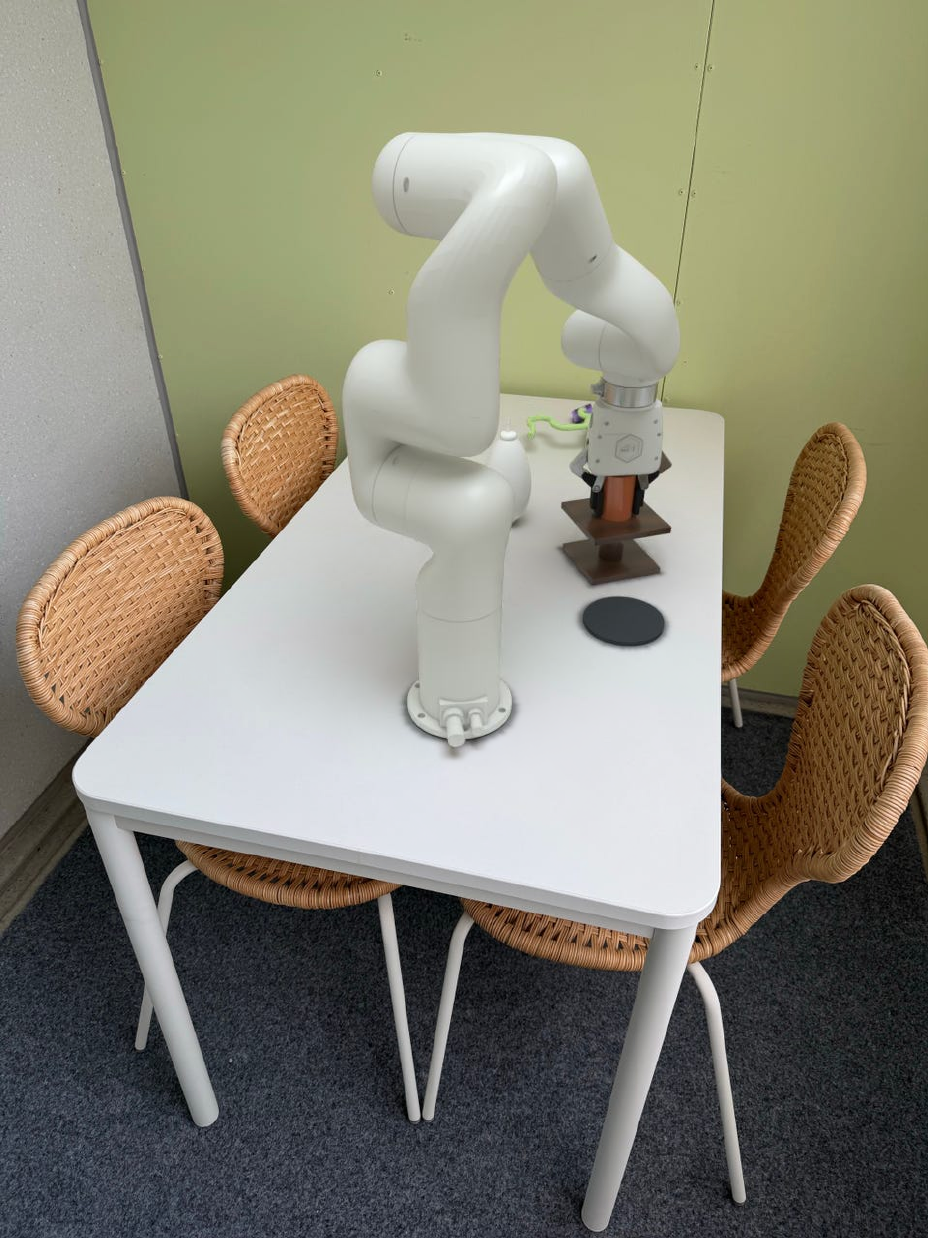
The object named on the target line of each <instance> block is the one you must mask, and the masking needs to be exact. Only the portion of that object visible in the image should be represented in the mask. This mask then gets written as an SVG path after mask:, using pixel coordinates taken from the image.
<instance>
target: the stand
mask: <svg viewBox="0 0 928 1238" xmlns="http://www.w3.org/2000/svg"><path fill="white" fill-rule="evenodd" d="M560 508H561V510H562V511H563V512H564V513H565V514H566V515H567V516H568V518H569V519H571V521H572V522H573V523H574V524H575V525H576V526H577V528H578V529H579V530H580V531H581V532H582V534H584V536H585V537H586V538H587V539H581V540H575V541H570V542H563V543H562V550H563V551H564V553H565V554H566V555H567V557H568V558H569V559H570V561H572V562H573V564H574V565H575V566H576V568H577V569H578V570H579V571H580V573H581V574H582V575H583V576H584V578H585V579H586V580H587V582H589V584H590V585H591V586H596V585H601V584H606V583H607V584H608V583H612V582H619V581H624V580H629V579H635V578H641V577H645V576H646V577H647V576H651V575H656V574H660V572H661V567H660V566H659V565H658V563H657V562H656V561H655V560H654V559H653V558H652V557H651V556H650V555H649V554H648V553H647V552H646V551H645V549H643V548H642V547H641V546H640V545H639V543H637V542H636V541H635V540H637V539H643V538H649V537H654V536H660V535H661V536H662V535H666V534H671V532H672V526H671V525H669V523H667V521H666V520H665V519H663V517H661V516H660V515H659V514H658V513H657V512H656V511H655V510H654V509H653V508H652V507H651V506H650V505H649V504H647V502H645V501H644V502H643V506H642V507H640V510H639V515H634V514H633V512H632V516H631V518H630V519H628V520H626V521H622V522H613V521H608V520H605V519H603V518H602V517H596V514H595V512H594V510H593V509H591V508H590V497H585V498H579V499H572V500H565V501H561V503H560Z"/></svg>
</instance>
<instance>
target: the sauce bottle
mask: <svg viewBox="0 0 928 1238" xmlns="http://www.w3.org/2000/svg"><path fill="white" fill-rule="evenodd" d="M506 423H507V424H506V426H507V427H506V430H502V431H501V432H500V433H499V438H498V439H497V440H496V441H495V443H494V444H493V446H492V448H491V449H490V451H489V454H488V456H487V459H486V462H485V465H486V466H488V467H490V468H492V469H494V470H496V471H497V472H499V473H500V474H501V475H503V476H504V477H505V478H506V479H507V481H508V482H509V483H510V485H511V487H512V489H513V491H514V495H515V512H514V518H513V522H512V523H514V522H516V521H517V520H519V519H520V518H521V517H522V516H523V514H524V513H525V511H526V510H527V507H528V505H529V502H530V500H531V495H532V472H531V466H530V463H529V459H528V456H527V454H526V451H525V448H524V446H523V445H522V443H521V442H520V440H519V439H518V438H517V437H518V433H517V432H516V431H514V430H511V418H510V416H508V417H507V422H506Z"/></svg>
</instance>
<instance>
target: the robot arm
mask: <svg viewBox="0 0 928 1238" xmlns="http://www.w3.org/2000/svg"><path fill="white" fill-rule="evenodd" d="M371 193H372V198H373V202H374V205H375V208H376V210H377V213H378V214H379V216H380V217H381V219H382V220H383V221H384V223H385V224H386V225H387V226H388V227H389V228H391V229H392V230H394V231H395V232H397V233H399V234H403V235H404V236H408V237H414V238H422V239H429V240H436V241H441V242H440V243H438V245H437V247H435V249H434V250H433V252H432V253H431V255H429V257H428V258H427V260H426V261H425V262H424V264H423V265H422V266H421V268H420V269H419V271H418V272H417V274H416V276H415V278H414V279H413V282H412V284H411V286H410V289H409V291H408V295H407V298H406V307H405V309H406V310H405V313H406V317H405V318H406V319H405V320H406V341H403V340H398V339H388V338H387V339H386V338H385V339H384V338H383V339H377V340H373V341H372V342H368V343H366V345H364V346H363V347H361V348H360V349H359V350H358V352H356V354H355V355H354V357H353V358H352V360H351V362H350V363H349V366H348V368H347V371H346V374H345V377H344V382H343V387H342V395H341V403H342V404H341V405H342V406H341V407H342V408H341V409H342V419H343V429H344V438H345V445H346V453H347V462H348V470H349V479H350V485H351V486H350V487H351V492H352V495H353V500H354V504H355V506H356V508H357V510H358V512H359V514H360V515H361V516H362V518H364V519H365V520H366V521H367V522H368V523H370V524H372V525H374V526H376V527H378V528H381V529H384V530H386V531H388V532H392V533H394V534H397V535H400V536H403V537H406V538H409V539H411V540H414V541H415V542H418V543H421V544H423V545H425V546H427V547H428V548H430V549H431V551H432V556H431V557H430V558H429V559H428V560H426V562H425V563H424V564H423V565H422V567H421V568H420V570H419V571H418V573H417V576H416V581H415V604H416V605H415V607H416V631H417V656H418V657H417V659H418V677H419V678H418V679H416V680H415V681H414V683H413V684H412V685H411V686H410V688H409V690H408V693H407V697H406V705H407V707H406V708H407V711H408V715H409V716H410V719H411V721H412V722H413V723H414V724H415V725H416V726H417V727H419V728H420V729H422V730H423V731H424V732H426V733H428V734H429V735H431V736H432V735H433V736H436V737H439V738H443V739H447V743H448V745H449V746H450V747H453V748H459V747H462V746H463V745H464V744H465V743H466V740H471V739H475V738H480V737H483V736H485V735H488V734H491V733H493V732H494V731H496V730H498V729H499V728H501V727H502V725H504V724H505V723H506V722H507V720H508V719H509V717H510V716H511V712H512V709H513V708H512V707H513V695H512V692H511V689H510V687H509V686H508V685H507V683H506V681H504V680H503V679H502V678H501V656H502V655H501V653H502V652H501V651H502V648H501V647H502V623H503V622H502V621H503V619H502V618H503V617H502V616H503V615H502V614H503V585H504V571H505V570H504V568H505V560H506V554H507V547H508V543H509V538H510V535H511V530H512V525H513V523H514V522H513V518H514V512H515V495H514V491H513V489H512V487H511V485H510V483H509V482H508V481H507V479H506V478H505V477H504V476H503V475H501V474H500V473H499V472H497V471H496V470H494V469H492V468H490V467H488V466H486V464H483V463H480V462H478V461H474V460H472V459H468V458H472V457H476V456H479V455H481V454H483V453H484V452H486V451H487V450H488V449H489V448H490V447H492V444H493V443H494V441H495V438H496V436H497V433H498V429H499V423H500V413H501V412H500V411H501V323H502V311H503V306H504V303H505V298H506V296H507V293H508V290H509V289H510V285H511V283H512V281H513V279H514V278H515V276H516V274H517V272H518V270H519V268H520V266H521V265H522V264H523V262H524V261H525V259H526V257H527V256H528V254H529V255H530V258H531V260H532V262H533V263H534V266H535V268H536V270H537V272H538V274H539V276H540V279H541V281H542V283H543V285H544V286H545V288H546V289H547V290H548V291H549V293H550V294H551V295H553V296H554V297H555V298H557V299H559V300H560V301H563V302H564V303H565V304H567V305H569V306H571V307H573V308H575V309H576V310H575V311H574V312H572V314H570V315H569V317H568V318H567V320H566V321H565V323H564V325H563V327H562V330H561V334H560V347H561V351H562V353H563V355H564V357H565V359H567V360H568V361H569V362H570V363H572V364H573V365H576V366H578V367H581V368H584V369H589V370H593V371H598V372H602V375H601V376H600V380H599V382H596V383H591V384H590V395H596V396H597V397H596V398H595V400H594V403H593V405H592V408H593V409H592V413H591V417H590V421H589V426H588V429H587V431H586V437H585V443H584V444H585V445H584V447H583V448H582V449H581V450H580V452H579V453H578V454H577V455H576V456H575V458H574V459H573V460H572V461H571V462H570V463H569V466H568V467H569V470H570V472H571V473H573V474H574V475H575V476H577V477H578V478H580V479H581V480H582V481H583V482H584V483H586V485H587V486H588V487H590V494H589V498H590V508H591V509H593V510H594V512H595V514H596V517H601V516H602V510H603V501H604V492H603V490H602V485H603V483H604V480H605V478H606V476H623V475H637V476H636V484H635V492H634V500H633V508H632V512H633V514H634V515H639V510H640V507H642V506H643V502H645V501H644V500H645V493H646V490H648V489H649V487H650V485H651V484H652V483H653V482H654V481H655V480H656V479H658V478H659V476H660V475H661V474H664V473H665V472H666V471H667V470H669V469H671V467H672V466H673V463H672V462H671V460H670V459H669V458H668V456H667V454H666V453H665V452H664V450H663V441H664V410H663V403H662V401H661V400H660V399H659V398H658V390H659V383H660V380H661V379H663V378H665V377H666V376H667V375H668V374H670V373H671V371H672V370H673V369H674V367H675V366H676V364H677V361H678V357H679V354H680V349H681V329H680V323H679V318H678V314H677V311H676V307H675V304H674V301H673V297H672V295H671V293H670V292H669V290H668V289H667V287H666V286H665V285H664V284H663V282H662V281H661V280H660V279H658V277H656V276H655V274H653V273H652V272H651V271H650V270H648V269H647V268H646V267H645V266H644V265H643V264H642V263H641V262H639V261H638V260H637V259H636V258H635V257H633V255H631V254H630V253H629V252H628V251H626V250H625V249H624V248H622V247H621V246H619V245H618V244H617V243H616V242H615V239H614V235H613V231H612V229H611V226H610V223H609V221H608V217H607V215H606V212H605V208H604V206H603V205H604V204H603V203H602V199H601V196H600V192H599V190H598V186H597V184H596V182H595V178H594V176H593V173H592V169H591V166H590V164H589V161H588V160H587V157H586V156H585V154H584V153H583V152H582V151H581V150H580V149H579V147H577V145H575V144H574V143H572V142H571V141H568V140H565V139H562V138H557V137H552V136H545V135H529V134H516V133H506V132H505V133H504V132H490V131H489V132H488V131H484V132H483V131H482V132H481V131H480V132H420V131H419V132H418V131H406V132H403V133H400V134H398V135H396V136H394V137H393V138H392V139H390V140H389V141H388V142H387V143H386V144H385V145H384V147H382V149H381V151H380V152H379V154H378V156H377V157H376V161H375V164H374V166H373V170H372V176H371ZM586 464H587V466H588V469H586V468H585V467H584V466H585V465H586Z"/></svg>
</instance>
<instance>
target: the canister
mask: <svg viewBox="0 0 928 1238" xmlns="http://www.w3.org/2000/svg"><path fill="white" fill-rule="evenodd" d="M636 476H637V475H623V476H606V478H605V480H604V483H603V485H602V490H603V492H604V501H603V510H602V516H601V517H602V518H603V519H605V520H608V521H613V522H622V521H626V520H628V519H630V518H631V516H632V508H633V500H634V492H635V484H636Z"/></svg>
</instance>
